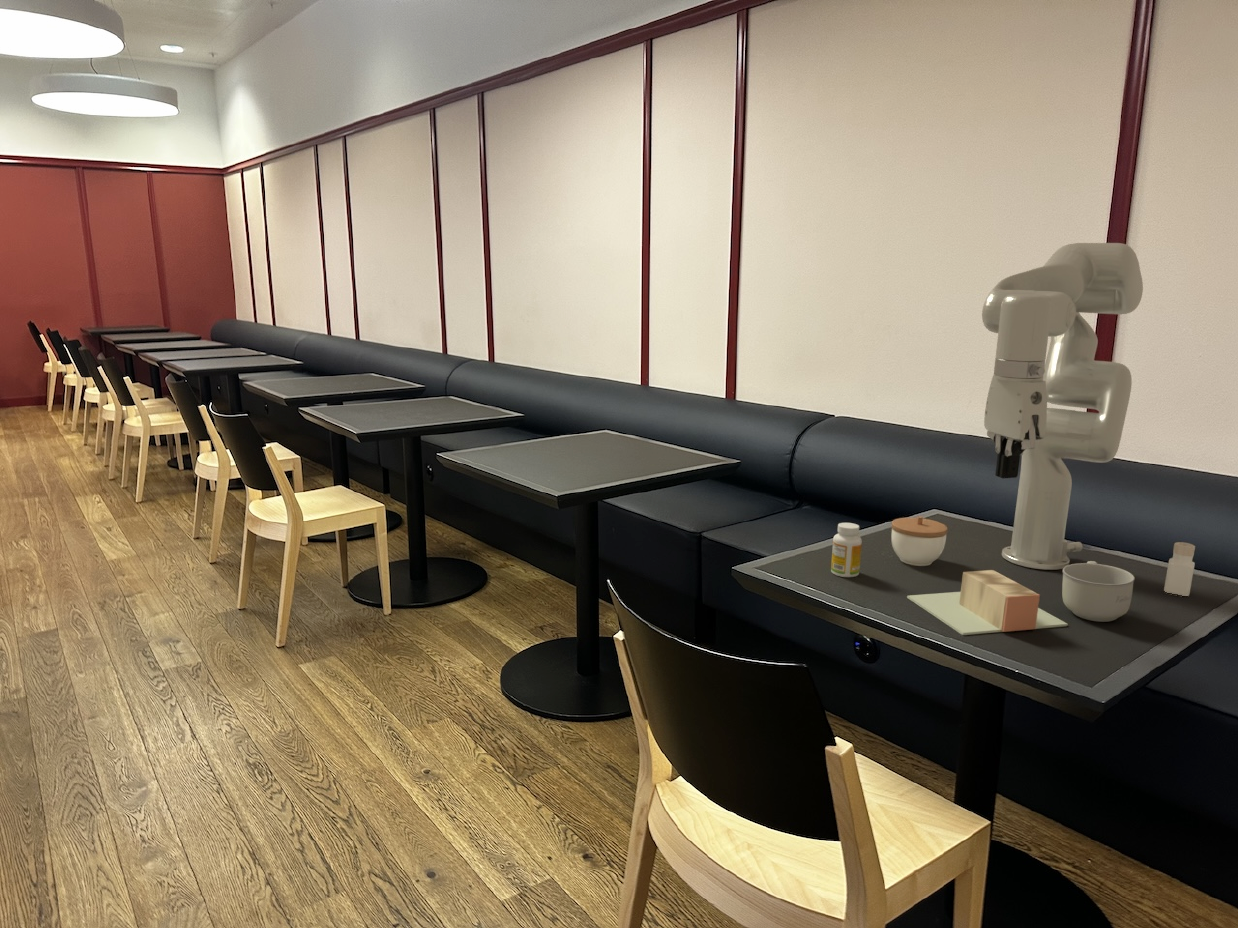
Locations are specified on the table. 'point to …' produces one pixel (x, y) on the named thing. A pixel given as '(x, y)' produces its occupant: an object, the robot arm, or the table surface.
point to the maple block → (999, 600)
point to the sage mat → (969, 614)
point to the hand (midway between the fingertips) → (1006, 476)
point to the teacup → (1097, 591)
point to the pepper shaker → (1180, 569)
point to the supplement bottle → (846, 551)
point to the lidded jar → (918, 540)
